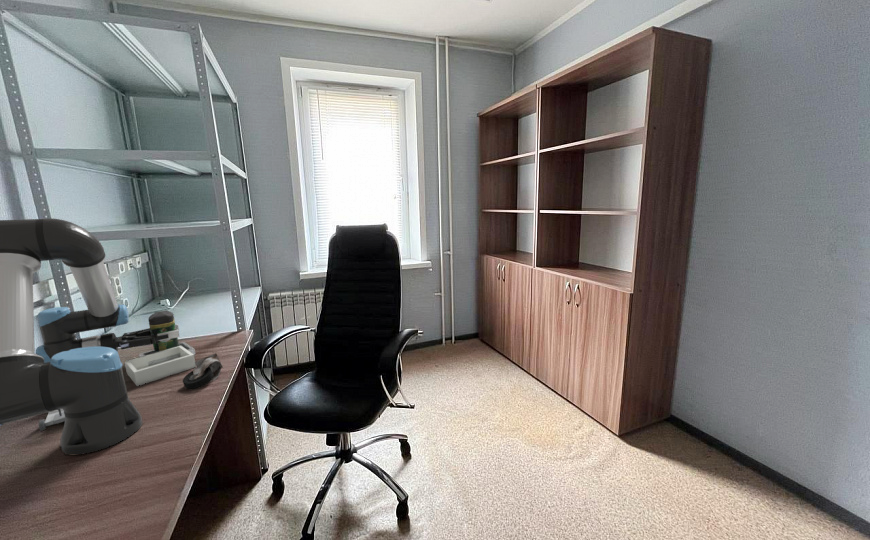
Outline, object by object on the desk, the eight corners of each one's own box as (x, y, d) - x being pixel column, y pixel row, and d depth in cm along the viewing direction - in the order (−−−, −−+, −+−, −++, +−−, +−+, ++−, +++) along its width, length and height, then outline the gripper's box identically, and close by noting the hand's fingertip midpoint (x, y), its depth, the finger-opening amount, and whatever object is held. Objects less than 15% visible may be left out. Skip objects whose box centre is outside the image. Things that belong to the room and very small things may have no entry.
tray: (196, 367, 127) (193, 354, 126) (137, 386, 114) (134, 372, 113) (183, 357, 136) (180, 345, 136) (127, 374, 123) (124, 361, 123)
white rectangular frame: (195, 354, 139) (194, 348, 138) (148, 368, 127) (147, 362, 127) (185, 347, 147) (184, 341, 147) (140, 359, 136) (139, 353, 135)
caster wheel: (189, 398, 110) (186, 383, 118) (227, 380, 116) (222, 367, 124) (180, 382, 108) (178, 367, 115) (220, 365, 114) (216, 352, 121)
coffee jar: (156, 355, 139) (148, 311, 135) (180, 350, 143) (173, 307, 140) (154, 364, 131) (146, 317, 128) (180, 358, 135) (172, 313, 132)
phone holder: (92, 387, 95) (29, 404, 88) (99, 419, 97) (38, 438, 89) (97, 366, 108) (42, 379, 101) (103, 395, 110) (50, 409, 103)
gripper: (107, 346, 133) (179, 332, 147) (99, 364, 117) (181, 346, 130) (103, 328, 132) (176, 315, 146) (94, 343, 115) (177, 328, 129)
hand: (178, 330), depth 138 cm, fingers closed on coffee jar, 8 cm apart
